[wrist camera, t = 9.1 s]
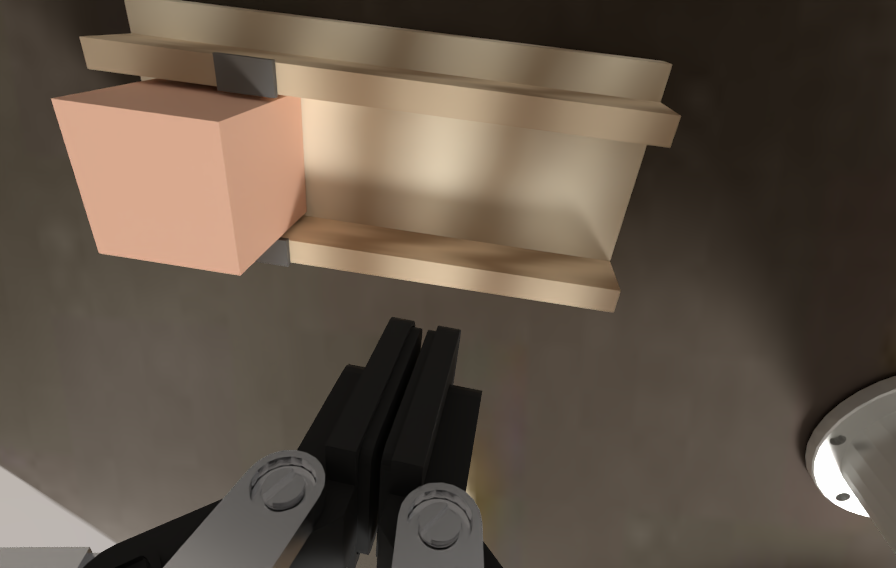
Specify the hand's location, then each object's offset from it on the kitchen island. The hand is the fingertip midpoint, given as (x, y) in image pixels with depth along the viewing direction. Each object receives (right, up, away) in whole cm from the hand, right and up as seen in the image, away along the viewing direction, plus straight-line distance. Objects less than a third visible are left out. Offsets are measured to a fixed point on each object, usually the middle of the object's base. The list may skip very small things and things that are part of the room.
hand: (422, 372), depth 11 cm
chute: (-2, +9, +13) cm, 16 cm away
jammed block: (-10, +9, +12) cm, 18 cm away
